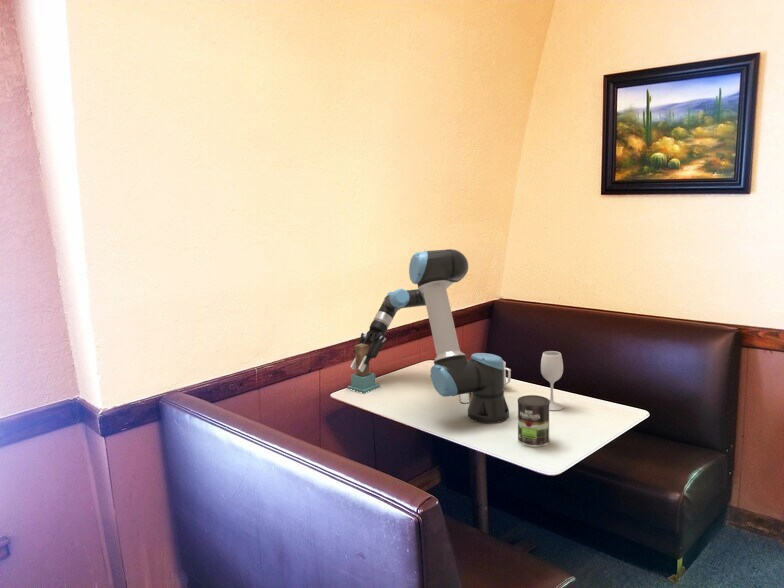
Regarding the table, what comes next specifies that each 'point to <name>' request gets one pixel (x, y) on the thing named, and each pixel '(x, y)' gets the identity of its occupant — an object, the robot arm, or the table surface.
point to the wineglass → (552, 373)
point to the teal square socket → (363, 383)
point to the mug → (505, 374)
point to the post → (361, 359)
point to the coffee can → (533, 420)
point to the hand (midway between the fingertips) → (356, 369)
